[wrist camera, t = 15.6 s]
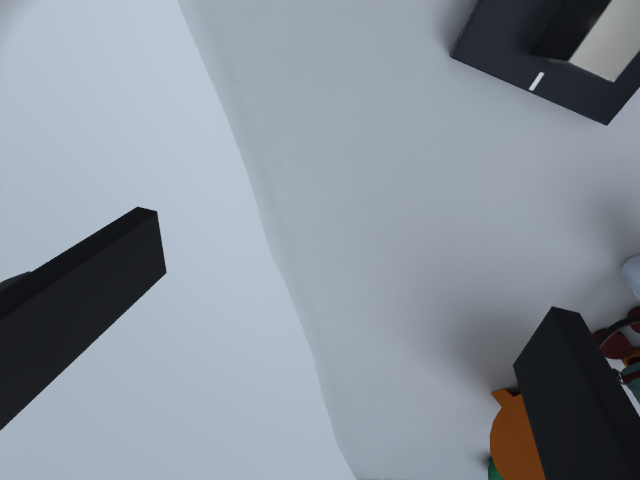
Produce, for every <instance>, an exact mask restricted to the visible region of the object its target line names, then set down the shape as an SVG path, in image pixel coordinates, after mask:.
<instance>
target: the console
mask: <svg viewBox="0 0 640 480" xmlns="http://www.w3.org/2000/svg"><path fill="white" fill-rule="evenodd" d="M565 2H566V0H478V1H477V3H476V5H475V7H474V9H473V11H472V13H471V15H470V17H469V19H468V21H467V23H466V25H465V27H464V29H463V31H462V33H461V35H460V36H459V38H458V40H457V42H456V44H455V46H454V48H453V50H452V52H451V54H450V57H451V58H453V59H455V60H458V61H460V62H462V63H464V64H467V65H469V66H471V67H474V68H476V69H478V70H480V71H483V72H485V73H487V74H489V75H492V76H494V77H496V78H499V79H501V80H503V81H505V82H508V83H510V84H512V85H515V86H517V87H519V88H521V89H524V90H526V91H528V92H531V93H533V94H535V95H537V96H540V97H542V98H544V99H547V100H549V101H551V102H553V103H556V104H558V105H560V106H563V107H565V108H567V109H569V110H572V111H574V112H576V113H579V114H581V115H583V116H585V117H588V118H590V119H592V120H594V121H597V122H599V123H601V124H604V125H608V124H609V123H610V122H611V120H612V119H613V118H614V117H615V116H616V114H617V113H618V112H619V111H620V110H621V109H622V107H623V106H624V105H625V104H626V103H627V101H628V100H629V99H630V98H631V97H632V95H633V94H634V93H635V92H636V91H637V90H638V88H639V87H640V51H639V52H638V53H637V54H636V56H635V57H634V58H633V59H632V61H631V62H630V63H629V64H628V65H627V67H626V68H625V69H624V70H623V72H622V73H621V74H620V75H619V77H618V78H617V79H616V80H615V82H609V81H605V80H601V79H597V78H593V77H589V76H585V75H581V74H577V73H573V72H569V71H565V70H562V69H560V68H558V67H556V66H554V65H551V64H549V63H547V62H545V61H542V60H540V59H538V58H536V57H533V56H532V55H531V54H532V53H533V51H534V50H535V48H536V46H537V45H538V43H539V42H540V40H541V39H542V37H543V36H544V34H545V33H546V31H547V29H548V28H549V26H550V25H551V23H552V22H553V20H554V19H555V17H556V15H557V14H558V12H559V11H560V9H561V8H562V6H563V5H564V3H565Z"/></svg>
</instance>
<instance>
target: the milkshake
mask: <svg viewBox="0 0 640 480" xmlns="http://www.w3.org/2000/svg"><path fill="white" fill-rule="evenodd" d="M621 274H622V275H623V277H624V278H625V279H626V281H627V282H628V284H629V285H630V287H631V288H632V290H633V291H634V293H635V294H636V296H637V297H638V299H639V300H640V255H637V256H633V257H630V258H629V259H628V260H627V261H626V262H624V263H623V264H622V269H621Z"/></svg>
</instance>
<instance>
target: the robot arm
mask: <svg viewBox="0 0 640 480" xmlns="http://www.w3.org/2000/svg"><path fill="white" fill-rule="evenodd" d="M165 274H166V266H165V260H164V254H163V247H162V241H161V234H160V228H159V222H158V215H157V211H154V210H149V209H145V208H141V207H136V208H135V209H133V210H131V211H130V212H128V213H126V214H125V215H123V216H122V217H120V218H118V219H117V220H115V221H114V222H112V223H110V224H109V225H107V226H105V227H104V228H102V229H101V230H99V231H97V232H96V233H94V234H92V235H91V236H89V237H87V238H86V239H84V240H83V241H81V242H79V243H78V244H76V245H75V246H73V247H71V248H70V249H68V250H66V251H65V252H63V253H62V254H60V255H58V256H57V257H55V258H53V259H52V260H50V261H49V262H47V263H45V264H44V265H42V266H40V267H39V268H37V269H36V270H34V271H32V272H26V273H23V274H20V275H18V276H15V277H12V278H10V279H7V280H5V281H3V282H1V283H0V430H1V429H3V428H4V427H5V426H6V425H7V424H8V423H9V422H10V421H11V420H12V419H13V418H14V417H15V416H16V415H17V414H18V413H19V412H20V411H21V410H22V409H24V408H25V407H26V406H27V405H28V404H29V403H30V402H31V401H32V400H33V399H34V398H35V397H36V396H37V395H38V394H39V393H40V392H41V391H42V390H44V389H45V388H46V387H47V386H48V385H49V384H50V383H51V382H52V381H53V380H54V379H55V378H56V377H57V376H58V375H59V374H60V373H61V372H62V371H64V370H65V369H66V368H67V367H68V366H69V365H70V364H71V363H72V362H73V361H74V360H75V359H76V358H77V357H78V356H79V355H80V354H81V353H83V352H84V351H85V350H86V349H87V348H88V347H89V346H90V345H91V344H92V343H93V342H94V341H95V340H96V339H97V338H98V337H99V336H100V335H101V334H103V332H105V331H106V330H107V329H108V328H109V327H110V326H111V325H112V324H113V323H114V322H115V321H116V320H117V319H118V318H119V317H120V316H121V315H123V313H125V312H126V311H127V310H128V309H129V308H130V307H131V306H132V305H133V304H134V303H135V302H136V301H137V300H138V299H139V298H140V297H141V296H143V294H145V293H146V292H147V291H148V290H149V289H150V288H151V287H152V286H153V285H154V284H155V283H156V282H157V281H158V280H159V279H160V278H161V277H162V276H164V275H165ZM513 368H514V371H515V375H516V378H517V382H518V385H519V389H520V392H521V395H522V399H523V402H524V406H525V409H526V413H527V416H528V420H529V423H530V427H531V430H532V434H533V437H534V441H535V444H536V448H537V451H538V455H539V458H540V462H541V465H542V469H543V472H544V476H545V479H546V480H640V417H639V415H638V413H637V411H636V410H635V408H634V406H633V405H632V403H631V401H630V399H629V398H628V396H627V394H626V392H625V391H624V389H623V387H622V386H621V384H620V382H619V380H618V379H617V377H616V375H615V373H614V372H613V370H612V368H611V367H610V365H609V363H608V361H607V360H606V358H605V356H604V355H603V353H602V351H601V349H600V348H599V346H598V344H597V342H596V341H595V339H594V337H593V336H592V334H591V332H590V330H589V329H588V327H587V325H586V323H585V322H584V320H583V318H582V317H581V315H580V313H578V312H573V311H569V310H565V309H561V308H557V307H553V306H552V307H551V309H550V310H549V312H548V313H547V315H546V316H545V318H544V319H543V321H542V322H541V324H540V325H539V327H538V328H537V330H536V331H535V333H534V334H533V336H532V337H531V339H530V340H529V342H528V343H527V345H526V346H525V348H524V349H523V351H522V352H521V354H520V355H519V357H518V358H517V360H516V361H515V363H514V364H513Z"/></svg>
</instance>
